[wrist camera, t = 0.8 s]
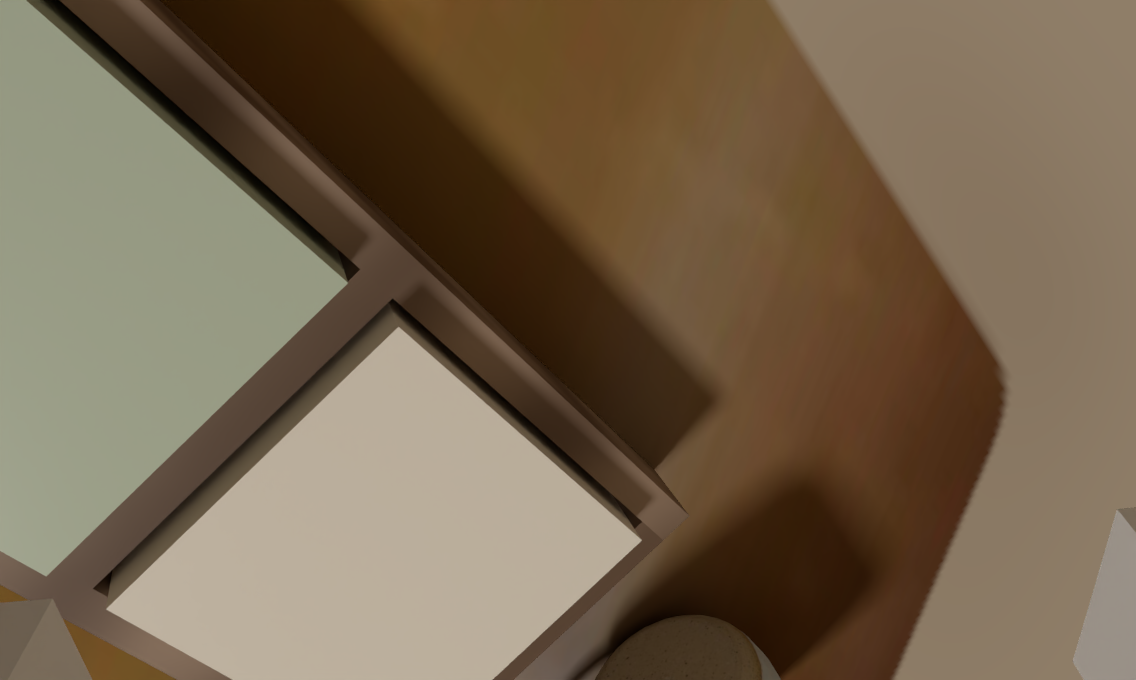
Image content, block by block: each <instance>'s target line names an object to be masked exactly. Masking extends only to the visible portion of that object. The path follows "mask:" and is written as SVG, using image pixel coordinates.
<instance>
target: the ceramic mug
mask: <svg viewBox="0 0 1136 680" xmlns="http://www.w3.org/2000/svg"><path fill="white" fill-rule="evenodd" d="M595 680H781V679H780V677H779V675H778V674H777V672H776V671H775V669H774V667H773V666H772V664H771V663H770V661H769V659H768V658H767V657H766V656H765V654H764V653H763V652H762V651H761V650H760V649H759V648H758V647H757V646H756V645H755V644H754V643H753V642H752V641H751V639H750V638H749V637H747V636H746V635H745V634H744V633H743V632H742V631H740V630H739V629H737V628H736V627H734V626H733V625H731V624H730V623H728V622H726V621H723V620H720V619H718V618H714V617H710V616H705V615H682V616H675V617H670V618H666V619H663V620H661V621H658V622H656V623H654V624H651V625H649V626H647V627H644V628H643V629H641V630H640V631H638V632H637V633H635V634H634V635H632V636H631V637H629V638H628V639H627V640H625V641H624V642H623V643H622V644H621V645H620V646H619V647H618V648H617V649H616V650H615V651H614V653H613V654H612V655H611V656H610V657H609V659H608V660H607V661H606V662H605V664H604V665H603V667H602V668H601V670H600V672H599V673H598V675H597V677H596V679H595Z"/></svg>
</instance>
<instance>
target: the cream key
mask: <svg viewBox="0 0 1136 680" xmlns="http://www.w3.org/2000/svg"><path fill="white" fill-rule="evenodd" d="M641 541H642V540H641V538H640V537H639V535H638V534H637V532H636V531H635V529H634V527H633V526H632V524H631V523H630V521H629V520H628V518H627V517H626V515H625V514H624V512H623V511H622V509H621V508H620V506H619V505H618V503H617V502H616V500H615V499H614V497H613V496H612V494H611V493H610V492H609V491H608V490H606V489H605V488H604V487H603V486H602V485H601V484H600V483H599V482H598V481H596V480H595V479H594V478H593V477H592V476H591V475H590V474H589V473H587V472H586V471H585V470H584V469H583V468H582V467H581V466H580V465H579V464H577V463H576V462H575V461H574V460H573V459H572V458H571V457H570V456H568V455H567V454H566V453H565V452H564V451H563V450H562V449H561V448H560V447H558V446H557V445H556V444H555V443H554V442H553V441H552V440H551V439H549V438H548V437H547V436H546V435H545V434H544V433H543V432H542V431H541V430H539V429H538V428H537V427H536V426H535V425H534V424H533V423H532V422H530V421H529V420H528V419H527V418H526V417H525V416H524V415H523V414H522V413H520V412H519V411H518V410H517V409H516V408H515V407H514V406H513V405H511V404H510V403H509V402H508V401H507V400H506V399H505V398H504V397H503V396H501V395H500V394H499V393H498V392H497V391H496V390H495V389H494V388H492V387H491V386H490V385H489V384H488V383H487V382H486V381H485V380H484V379H482V378H481V377H480V376H479V375H478V374H477V373H476V372H475V371H473V370H472V369H471V368H470V367H469V366H468V365H467V364H466V363H465V362H463V361H462V360H461V359H460V358H459V357H458V356H457V355H456V354H454V353H453V352H452V351H451V350H450V349H449V348H448V347H447V346H446V345H444V344H443V343H442V342H441V341H440V340H439V339H438V338H437V337H435V336H434V335H433V334H432V333H431V332H430V331H429V330H428V329H427V328H425V327H424V326H423V325H422V324H421V323H420V322H419V321H418V320H416V319H415V318H414V317H413V316H412V315H411V314H410V313H409V312H408V311H406V310H405V309H404V308H403V307H402V306H401V305H400V304H399V303H397V302H396V301H395V300H394V299H391V300H390V301H389V302H388V303H387V304H386V305H385V306H384V307H383V308H382V309H381V310H380V311H379V312H378V313H377V314H376V315H375V316H374V317H373V318H372V319H371V320H370V321H369V322H368V323H367V324H366V325H365V326H364V327H363V328H362V329H360V330H359V331H358V332H357V333H356V334H355V335H354V336H353V337H352V338H351V339H350V340H349V341H348V342H347V343H346V344H345V345H344V346H343V347H342V348H341V349H340V350H339V351H338V352H337V353H336V354H335V355H334V356H333V357H332V358H331V359H329V360H328V361H327V362H326V363H325V364H324V365H323V366H322V367H321V368H320V369H319V370H318V371H317V372H316V373H315V374H314V375H313V376H312V377H311V378H310V379H309V380H308V381H307V382H306V383H305V384H304V385H303V386H302V387H301V388H300V389H298V390H297V391H296V392H295V393H294V394H293V395H292V396H291V397H290V398H289V399H288V400H287V401H286V402H285V403H284V404H283V405H282V406H281V407H280V408H279V409H278V410H277V411H276V412H275V413H274V414H273V415H272V416H271V417H270V418H269V419H267V420H266V421H265V422H264V423H263V424H262V425H261V426H260V427H259V428H258V429H257V430H256V431H255V432H254V433H253V434H252V435H251V436H250V437H249V438H248V439H247V440H246V441H245V442H244V443H243V444H242V445H241V446H240V447H239V448H238V449H237V450H235V451H234V452H233V453H232V454H231V455H230V456H229V457H228V458H227V459H226V460H225V461H224V462H223V463H222V464H221V465H220V466H219V467H218V468H217V469H216V470H215V471H214V472H213V473H212V474H211V475H210V476H209V477H208V478H207V479H206V480H204V481H203V482H202V483H201V484H200V485H199V486H198V487H197V488H196V489H195V490H194V491H193V492H192V493H191V494H190V495H189V496H188V497H187V498H186V499H185V500H184V501H183V502H182V503H181V504H180V505H179V506H178V507H177V508H176V509H175V510H173V511H172V512H171V513H170V514H169V515H168V516H167V517H166V518H165V519H164V520H163V521H162V522H161V523H160V524H159V525H158V526H157V527H156V528H155V529H154V530H153V531H152V532H151V533H150V534H149V535H148V536H147V537H146V538H145V539H144V540H142V541H141V542H140V543H139V544H138V545H137V546H136V547H135V548H134V549H133V550H132V551H131V552H130V553H129V554H128V555H127V556H126V557H125V558H124V559H123V560H122V561H121V562H120V563H119V564H118V565H117V566H116V567H115V568H114V569H113V570H112V576H111V582H110V588H109V593H108V599H107V605H106V610H108V611H110V612H112V613H113V614H115V615H117V616H119V617H121V618H122V619H124V620H126V621H128V622H130V623H131V624H133V625H135V626H137V627H139V628H140V629H142V630H144V631H146V632H148V633H149V634H151V635H153V636H155V637H157V638H158V639H160V640H162V641H164V642H166V643H167V644H169V645H171V646H173V647H175V648H176V649H178V650H180V651H182V652H184V653H185V654H187V655H189V656H191V657H193V658H194V659H196V660H198V661H200V662H202V663H203V664H205V665H207V666H209V667H211V668H212V669H214V670H216V671H218V672H220V673H221V674H223V675H225V676H227V677H229V678H230V679H232V680H493V679H494V678H495V677H496V676H497V675H498V674H499V673H500V672H501V671H502V670H503V669H504V668H506V667H507V666H508V665H509V664H510V663H511V662H512V661H513V660H514V659H515V658H516V657H517V656H518V655H520V654H521V653H522V652H523V651H524V650H525V649H526V648H527V647H528V646H529V645H530V644H531V643H532V642H533V641H535V640H536V639H537V638H538V637H539V636H540V635H541V634H542V633H543V632H544V631H545V630H546V629H547V628H548V627H550V626H551V625H552V624H553V623H554V622H555V621H556V620H557V619H558V618H559V617H560V616H561V615H562V614H564V613H565V612H566V611H567V610H568V609H569V608H570V607H571V606H572V605H573V604H574V603H575V602H576V601H577V600H579V599H580V598H581V597H582V596H583V595H584V594H585V593H586V592H587V591H588V590H589V589H590V588H591V587H592V586H594V585H595V584H596V583H597V582H598V581H599V580H600V579H601V578H602V577H603V576H604V575H605V574H606V573H608V572H609V571H610V570H611V569H612V568H613V567H614V566H615V565H616V564H617V563H618V562H619V561H620V560H621V559H623V558H624V557H625V556H626V555H627V554H628V553H629V552H630V551H631V550H632V549H633V548H634V547H635V546H636V545H638V544H639V543H640V542H641Z"/></svg>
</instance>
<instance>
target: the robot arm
mask: <svg viewBox="0 0 1136 680" xmlns="http://www.w3.org/2000/svg"><path fill="white" fill-rule="evenodd" d="M1073 663H1074V664H1075V666H1076V668H1077V669H1078V671H1079V672H1080V674H1081V676H1082V678H1083V679H1084V680H1136V508H1124V509H1117V512H1116V515H1115V519H1114V522H1113V526H1112V529H1111V532H1110V536H1109V539H1108V543H1107V546H1106V550H1105V553H1104V556H1103V560H1102V563H1101V567H1100V570H1099V573H1098V577H1097V580H1096V584H1095V587H1094V591H1093V594H1092V598H1091V601H1090V604H1089V608H1088V611H1087V615H1086V618H1085V621H1084V625H1083V629H1082V632H1081V635H1080V639H1079V642H1078V645H1077V649H1076V652H1075V656H1074V659H1073ZM0 680H92V678H91V676H90V674H89V672H88V670H87V668H86V666H85V664H84V662H83V660H82V658H81V656H80V654H79V652H78V650H77V648H76V646H75V644H74V641H73V639H72V637H71V635H70V633H69V631H68V629H67V627H66V625H65V623H64V621H63V619H62V617H61V615H60V613H59V611H58V609H57V607H56V605H55V603H54V601H53V599H43V600H31V601H19V602H7V603H0Z"/></svg>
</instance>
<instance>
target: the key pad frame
mask: <svg viewBox="0 0 1136 680" xmlns="http://www.w3.org/2000/svg"><path fill="white" fill-rule="evenodd" d="M60 1H61V2H62V3H63V4H64V5H66V6H67V7H68V8H69V9H70V10H71V11H72V12H73V13H74V14H76V15H77V16H78V17H79V18H80V19H81V20H82V21H83V22H85V23H86V24H87V25H88V26H89V27H90V28H91V29H92V30H93V31H95V32H96V33H97V34H98V35H99V36H100V37H101V38H102V39H104V40H105V41H106V42H107V43H108V44H109V45H110V46H111V47H112V48H114V49H115V50H116V51H117V52H118V53H119V54H120V55H121V56H123V57H124V58H125V59H126V60H127V61H128V62H129V63H130V64H131V65H133V66H134V67H135V68H136V69H137V70H138V71H139V72H140V73H142V74H143V75H144V76H145V77H146V78H147V79H148V80H149V81H150V82H152V83H153V84H154V85H155V86H156V87H157V88H158V89H159V90H161V91H162V92H163V93H164V94H165V95H166V96H167V97H168V98H169V99H171V100H172V101H173V102H174V103H175V104H176V105H177V106H178V107H180V108H181V109H182V110H183V111H184V112H185V113H186V114H187V115H188V116H190V117H191V118H192V119H193V120H194V121H195V122H196V123H197V124H199V125H200V126H201V127H202V128H203V129H204V130H205V131H206V132H207V133H209V134H210V135H211V136H212V137H213V138H214V139H215V140H216V141H218V142H219V143H220V144H221V145H222V146H223V147H224V148H225V149H226V150H228V151H229V152H230V153H231V154H232V155H233V156H234V157H235V158H237V159H238V160H239V161H240V162H241V163H242V164H243V165H244V166H245V167H247V168H248V169H249V170H250V171H251V172H252V173H253V174H254V175H256V176H257V177H258V178H259V179H260V180H261V181H262V182H263V183H264V184H266V185H267V186H268V187H269V188H270V189H271V190H272V191H273V192H275V193H276V194H277V195H278V196H279V197H280V198H281V199H282V200H283V201H285V202H286V203H287V204H288V205H289V206H290V207H291V208H292V209H294V210H295V211H296V212H297V213H298V214H299V215H300V216H301V217H302V218H304V219H305V220H306V221H307V222H308V223H309V224H310V225H311V226H313V227H314V228H315V229H316V230H317V231H318V232H319V233H320V234H321V235H323V236H324V237H325V238H326V239H327V240H328V241H329V242H330V243H332V244H333V245H334V246H335V247H336V248H337V250H338V253H339V256H340V259H341V263H342V266H343V269H344V272H345V275H346V278H347V281H348V284H347V285H346V286H345V287H344V288H343V289H342V290H340V291H339V292H338V293H337V294H336V295H335V296H334V297H333V298H332V299H331V300H330V301H329V302H328V303H327V304H326V305H325V306H324V307H323V308H322V309H321V310H320V311H319V312H318V313H317V314H316V315H315V316H314V317H313V318H312V319H311V320H310V321H309V322H308V323H307V324H306V325H304V326H303V327H302V328H301V329H300V330H299V331H298V332H297V333H296V334H295V335H294V336H293V337H292V338H291V339H290V340H289V341H288V342H287V343H286V344H285V345H284V346H283V347H282V348H281V349H280V350H279V351H278V352H277V353H276V354H275V355H274V356H273V357H272V358H271V359H270V360H268V361H267V362H266V363H265V364H264V365H263V366H262V367H261V368H260V369H259V370H258V371H257V372H256V373H255V374H254V375H253V376H252V377H251V378H250V379H249V380H248V381H247V382H246V383H245V384H244V385H243V386H242V387H241V388H240V389H239V390H238V391H237V392H236V393H235V394H234V395H232V396H231V397H230V398H229V399H228V400H227V401H226V402H225V403H224V404H223V405H222V406H221V407H220V408H219V409H218V410H217V411H216V412H215V413H214V414H213V415H212V416H211V417H210V418H209V419H208V420H207V421H206V422H205V423H204V424H203V425H202V426H201V427H200V428H199V429H198V430H197V431H195V432H194V433H193V434H192V435H191V436H190V437H189V438H188V439H187V440H186V441H185V442H184V443H183V444H182V445H181V446H180V447H179V448H178V449H177V450H176V451H175V452H174V453H173V454H172V455H171V456H170V457H169V458H168V459H167V460H166V461H165V462H164V463H163V464H162V465H161V466H159V467H158V468H157V469H156V470H155V471H154V472H153V473H152V474H151V475H150V476H149V477H148V478H147V479H146V480H145V481H144V482H143V483H142V484H141V485H140V486H139V487H138V488H137V489H136V490H135V491H134V492H133V493H132V494H131V495H130V496H129V497H128V498H127V499H126V500H125V501H123V502H122V503H121V504H120V505H119V506H118V507H117V508H116V509H115V510H114V511H113V512H112V513H111V514H110V515H109V516H108V517H107V518H106V519H105V520H104V521H103V522H102V523H101V524H100V525H99V526H98V527H97V528H96V529H95V530H94V531H93V532H92V533H91V534H90V535H89V536H87V537H86V538H85V539H84V540H83V541H82V542H81V543H80V544H79V545H78V546H77V547H76V548H75V549H74V550H73V551H72V552H71V553H70V554H69V555H68V556H67V557H66V558H65V559H64V560H63V561H62V562H61V563H60V564H59V565H58V566H57V567H56V568H55V569H54V570H53V571H51V572H50V573H49V574H48V575H47V576H44V575H43V574H41V573H39V572H37V571H35V570H34V569H32V568H30V567H28V566H26V565H25V564H23V563H21V562H19V561H17V560H16V559H14V558H12V557H10V556H8V555H7V554H5V553H3V552H1V551H0V585H2V586H4V587H6V588H8V589H9V590H11V591H13V592H15V593H17V594H19V595H21V596H22V597H24V598H26V599H28V600H30V601H31V600H43V599H53V601H54V603H55V605H56V607H57V609H58V611H59V613H60V615H61V617H62V618H63V619H65V620H67V621H69V622H71V623H73V624H75V625H76V626H78V627H80V628H82V629H84V630H86V631H88V632H89V633H91V634H93V635H95V636H97V637H99V638H101V639H102V640H104V641H106V642H108V643H110V644H112V645H114V646H116V647H117V648H119V649H121V650H123V651H125V652H127V653H129V654H130V655H132V656H134V657H136V658H138V659H140V660H142V661H143V662H145V663H147V664H149V665H151V666H153V667H155V668H156V669H158V670H160V671H162V672H164V673H166V674H168V675H170V676H171V677H173V678H175V679H177V680H232V679H230V678H229V677H227V676H225V675H223V674H221V673H220V672H218V671H216V670H214V669H212V668H211V667H209V666H207V665H205V664H203V663H202V662H200V661H198V660H196V659H194V658H193V657H191V656H189V655H187V654H185V653H184V652H182V651H180V650H178V649H176V648H175V647H173V646H171V645H169V644H167V643H166V642H164V641H162V640H160V639H158V638H157V637H155V636H153V635H151V634H149V633H148V632H146V631H144V630H142V629H140V628H139V627H137V626H135V625H133V624H131V623H130V622H128V621H126V620H124V619H122V618H121V617H119V616H117V615H115V614H113V613H112V612H110V611H108V610H106V605H107V599H108V593H109V588H110V582H111V576H112V570H113V569H114V568H115V567H116V566H117V565H118V564H119V563H120V562H121V561H122V560H123V559H124V558H125V557H126V556H127V555H128V554H129V553H130V552H131V551H132V550H133V549H134V548H135V547H136V546H137V545H138V544H139V543H140V542H141V541H142V540H144V539H145V538H146V537H147V536H148V535H149V534H150V533H151V532H152V531H153V530H154V529H155V528H156V527H157V526H158V525H159V524H160V523H161V522H162V521H163V520H164V519H165V518H166V517H167V516H168V515H169V514H170V513H171V512H172V511H173V510H175V509H176V508H177V507H178V506H179V505H180V504H181V503H182V502H183V501H184V500H185V499H186V498H187V497H188V496H189V495H190V494H191V493H192V492H193V491H194V490H195V489H196V488H197V487H198V486H199V485H200V484H201V483H202V482H203V481H204V480H206V479H207V478H208V477H209V476H210V475H211V474H212V473H213V472H214V471H215V470H216V469H217V468H218V467H219V466H220V465H221V464H222V463H223V462H224V461H225V460H226V459H227V458H228V457H229V456H230V455H231V454H232V453H233V452H234V451H235V450H237V449H238V448H239V447H240V446H241V445H242V444H243V443H244V442H245V441H246V440H247V439H248V438H249V437H250V436H251V435H252V434H253V433H254V432H255V431H256V430H257V429H258V428H259V427H260V426H261V425H262V424H263V423H264V422H265V421H266V420H267V419H269V418H270V417H271V416H272V415H273V414H274V413H275V412H276V411H277V410H278V409H279V408H280V407H281V406H282V405H283V404H284V403H285V402H286V401H287V400H288V399H289V398H290V397H291V396H292V395H293V394H294V393H295V392H296V391H297V390H298V389H300V388H301V387H302V386H303V385H304V384H305V383H306V382H307V381H308V380H309V379H310V378H311V377H312V376H313V375H314V374H315V373H316V372H317V371H318V370H319V369H320V368H321V367H322V366H323V365H324V364H325V363H326V362H327V361H328V360H329V359H331V358H332V357H333V356H334V355H335V354H336V353H337V352H338V351H339V350H340V349H341V348H342V347H343V346H344V345H345V344H346V343H347V342H348V341H349V340H350V339H351V338H352V337H353V336H354V335H355V334H356V333H357V332H358V331H359V330H360V329H362V328H363V327H364V326H365V325H366V324H367V323H368V322H369V321H370V320H371V319H372V318H373V317H374V316H375V315H376V314H377V313H378V312H379V311H380V310H381V309H382V308H383V307H384V306H385V305H386V304H387V303H388V302H389V301H390V300H391V299H394V300H395V301H396V302H397V303H399V304H400V305H401V306H402V307H403V308H404V309H405V310H406V311H408V312H409V313H410V314H411V315H412V316H413V317H414V318H415V319H416V320H418V321H419V322H420V323H421V324H422V325H423V326H424V327H425V328H427V329H428V330H429V331H430V332H431V333H432V334H433V335H434V336H435V337H437V338H438V339H439V340H440V341H441V342H442V343H443V344H444V345H446V346H447V347H448V348H449V349H450V350H451V351H452V352H453V353H454V354H456V355H457V356H458V357H459V358H460V359H461V360H462V361H463V362H465V363H466V364H467V365H468V366H469V367H470V368H471V369H472V370H473V371H475V372H476V373H477V374H478V375H479V376H480V377H481V378H482V379H484V380H485V381H486V382H487V383H488V384H489V385H490V386H491V387H492V388H494V389H495V390H496V391H497V392H498V393H499V394H500V395H501V396H503V397H504V398H505V399H506V400H507V401H508V402H509V403H510V404H511V405H513V406H514V407H515V408H516V409H517V410H518V411H519V412H520V413H522V414H523V415H524V416H525V417H526V418H527V419H528V420H529V421H530V422H532V423H533V424H534V425H535V426H536V427H537V428H538V429H539V430H541V431H542V432H543V433H544V434H545V435H546V436H547V437H548V438H549V439H551V440H552V441H553V442H554V443H555V444H556V445H557V446H558V447H560V448H561V449H562V450H563V451H564V452H565V453H566V454H567V455H568V456H570V457H571V458H572V459H573V460H574V461H575V462H576V463H577V464H579V465H580V466H581V467H582V468H583V469H584V470H585V471H586V472H588V473H589V474H590V475H591V476H592V477H593V478H594V479H595V480H596V481H598V482H599V483H600V484H601V485H602V486H603V487H604V488H605V489H606V490H608V491H609V492H610V493H611V494H612V496H613V497H614V499H615V500H616V502H617V503H618V505H619V506H620V508H621V509H622V511H623V512H624V514H625V515H626V517H627V518H628V520H629V521H630V523H631V524H632V526H633V527H634V529H635V531H636V532H637V534H638V535H639V537H640V538H641V540H642V541H641V542H640V543H639V544H638V545H636V546H635V547H634V548H633V549H632V550H631V551H630V552H629V553H628V554H627V555H626V556H625V557H624V558H623V559H621V560H620V561H619V562H618V563H617V564H616V565H615V566H614V567H613V568H612V569H611V570H610V571H609V572H608V573H606V574H605V575H604V576H603V577H602V578H601V579H600V580H599V581H598V582H597V583H596V584H595V585H594V586H592V587H591V588H590V589H589V590H588V591H587V592H586V593H585V594H584V595H583V596H582V597H581V598H580V599H579V600H577V601H576V602H575V603H574V604H573V605H572V606H571V607H570V608H569V609H568V610H567V611H566V612H565V613H564V614H562V615H561V616H560V617H559V618H558V619H557V620H556V621H555V622H554V623H553V624H552V625H551V626H550V627H548V628H547V629H546V630H545V631H544V632H543V633H542V634H541V635H540V636H539V637H538V638H537V639H536V640H535V641H533V642H532V643H531V644H530V645H529V646H528V647H527V648H526V649H525V650H524V651H523V652H522V653H521V654H520V655H518V656H517V657H516V658H515V659H514V660H513V661H512V662H511V663H510V664H509V665H508V666H507V667H506V668H504V669H503V670H502V671H501V672H500V673H499V674H498V675H497V676H496V677H495V678H494V679H493V680H514V679H515V678H516V677H517V676H518V675H519V674H520V673H521V672H522V671H523V670H524V669H525V668H526V667H528V666H529V665H530V664H531V663H532V662H533V661H534V660H535V659H536V658H537V657H538V656H539V655H540V654H542V653H543V652H544V651H545V650H546V649H547V648H548V647H549V646H550V645H551V644H552V643H553V642H554V641H555V640H557V639H558V638H559V637H560V636H561V635H562V634H563V633H564V632H565V631H566V630H567V629H568V628H569V627H571V626H572V625H573V624H574V623H575V622H576V621H577V620H578V619H579V618H580V617H581V616H582V615H583V614H585V613H586V612H587V611H588V610H589V609H590V608H591V607H592V606H593V605H594V604H595V603H596V602H597V601H598V600H600V599H601V598H602V597H603V596H604V595H605V594H606V593H607V592H608V591H609V590H610V589H611V588H612V587H614V586H615V585H616V584H617V583H618V582H619V581H620V580H621V579H622V578H623V577H624V576H625V575H626V574H628V573H629V572H630V571H631V570H632V569H633V568H634V567H635V566H636V565H637V564H638V563H639V562H640V561H641V560H643V559H644V558H645V557H646V556H647V555H648V554H649V553H650V552H651V551H652V550H653V549H654V548H655V547H657V546H658V545H659V544H660V543H661V542H662V541H663V540H664V539H665V538H666V537H667V536H668V535H669V534H670V533H672V532H673V531H674V530H675V529H676V528H677V527H678V526H679V525H680V524H681V523H682V522H683V521H684V520H686V519H687V518H688V517H689V515H688V513H687V512H686V511H685V509H684V508H683V507H682V506H681V504H680V503H679V502H678V500H677V499H676V498H675V496H674V495H673V494H672V492H671V491H670V490H669V488H668V487H667V486H666V485H665V483H664V482H663V481H662V479H661V478H660V477H659V475H658V474H657V473H656V471H655V470H654V469H653V468H652V467H651V466H650V465H649V464H647V463H646V462H645V461H644V460H643V459H642V458H641V457H640V456H639V455H638V454H637V453H636V452H635V451H634V450H633V449H632V448H631V447H630V446H629V445H627V444H626V443H625V442H624V441H623V440H622V439H621V438H620V437H619V436H618V435H617V434H616V433H615V432H614V431H613V430H612V429H611V428H610V427H609V426H607V425H606V424H605V423H604V422H603V421H602V420H601V419H600V418H599V417H598V416H597V415H596V414H595V413H594V412H593V411H592V410H591V409H590V408H589V407H587V406H586V405H585V404H584V403H583V402H582V401H581V400H580V399H579V398H578V397H577V396H576V395H575V394H574V393H573V392H572V391H571V390H570V389H568V388H567V387H566V386H565V385H564V384H563V383H562V382H561V381H560V380H559V379H558V378H557V377H556V376H555V375H554V374H553V373H552V372H551V371H550V370H548V369H547V368H546V367H545V366H544V365H543V364H542V363H541V362H540V361H539V360H538V359H537V358H536V357H535V356H534V355H533V354H532V353H531V352H530V351H528V350H527V349H526V348H525V347H524V346H523V345H522V344H521V343H520V342H519V341H518V340H517V339H516V338H515V337H514V336H513V335H512V334H511V333H510V332H508V331H507V330H506V329H505V328H504V327H503V326H502V325H501V324H500V323H499V322H498V321H497V320H496V319H495V318H494V317H493V316H492V315H491V314H490V313H488V312H487V311H486V310H485V309H484V308H483V307H482V306H481V305H480V304H479V303H478V302H477V301H476V300H475V299H474V298H473V297H472V296H471V295H470V294H468V293H467V292H466V291H465V290H464V289H463V288H462V287H461V286H460V285H459V284H458V283H457V282H456V281H455V280H454V279H453V278H452V277H451V276H450V275H448V274H447V273H446V272H445V271H444V270H443V269H442V268H441V267H440V266H439V265H438V264H437V263H436V262H435V261H434V260H433V259H432V258H431V257H430V256H428V255H427V254H426V253H425V252H424V251H423V250H422V249H421V248H420V247H419V246H418V245H417V244H416V243H415V242H414V241H413V240H412V239H411V238H410V237H408V236H407V235H406V234H405V233H404V232H403V231H402V230H401V229H400V228H399V227H398V226H397V225H396V224H395V223H394V222H393V221H392V220H391V219H390V218H388V217H387V216H386V215H385V214H384V213H383V212H382V211H381V210H380V209H379V208H378V207H377V206H376V205H375V204H374V203H373V202H372V201H371V200H370V199H368V198H367V197H366V196H365V195H364V194H363V193H362V192H361V191H360V190H359V189H358V188H357V187H356V186H355V185H354V184H353V183H352V182H351V181H350V180H348V179H347V178H346V177H345V176H344V175H343V174H342V173H341V172H340V171H339V170H338V169H337V168H336V167H335V166H334V165H333V164H332V163H331V162H330V161H328V160H327V159H326V158H325V157H324V156H323V155H322V154H321V153H320V152H319V151H318V150H317V149H316V148H315V147H314V146H313V145H312V144H311V143H310V142H308V141H307V140H306V139H305V138H304V137H303V136H302V135H301V134H300V133H299V132H298V131H297V130H296V129H295V128H294V127H293V126H292V125H291V124H290V123H288V122H287V121H286V120H285V119H284V118H283V117H282V116H281V115H280V114H279V113H278V112H277V111H276V110H275V109H274V108H273V107H272V106H271V105H270V104H268V103H267V102H266V101H265V100H264V99H263V98H262V97H261V96H260V95H259V94H258V93H257V92H256V91H255V90H254V89H253V88H252V87H251V86H250V85H248V84H247V83H246V82H245V81H244V80H243V79H242V78H241V77H240V76H239V75H238V74H237V73H236V72H235V71H234V70H233V69H232V68H231V67H230V66H228V65H227V64H226V63H225V62H224V61H223V60H222V59H221V58H220V57H219V56H218V55H217V54H216V53H215V52H214V51H213V50H212V49H211V48H210V47H208V46H207V45H206V44H205V43H204V42H203V41H202V40H201V39H200V38H199V37H198V36H197V35H196V34H195V33H194V32H193V31H192V30H191V29H190V28H188V27H187V26H186V25H185V24H184V23H183V22H182V21H181V20H180V19H179V18H178V17H177V16H176V15H175V14H174V13H173V12H172V11H171V10H170V9H168V8H167V7H166V6H165V5H164V4H163V3H162V2H161V1H160V0H60Z"/></svg>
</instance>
